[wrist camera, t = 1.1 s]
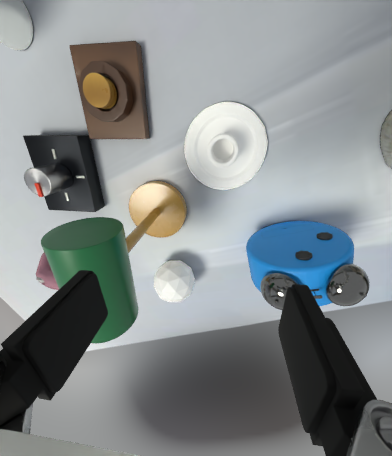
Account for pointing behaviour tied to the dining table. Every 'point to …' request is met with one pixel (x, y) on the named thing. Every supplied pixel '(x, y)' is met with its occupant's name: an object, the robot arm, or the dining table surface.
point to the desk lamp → (114, 250)
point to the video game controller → (46, 273)
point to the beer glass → (15, 25)
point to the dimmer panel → (77, 165)
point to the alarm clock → (306, 263)
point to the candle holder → (225, 145)
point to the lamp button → (99, 91)
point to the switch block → (125, 86)
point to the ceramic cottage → (387, 140)
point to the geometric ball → (174, 281)
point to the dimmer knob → (48, 179)
